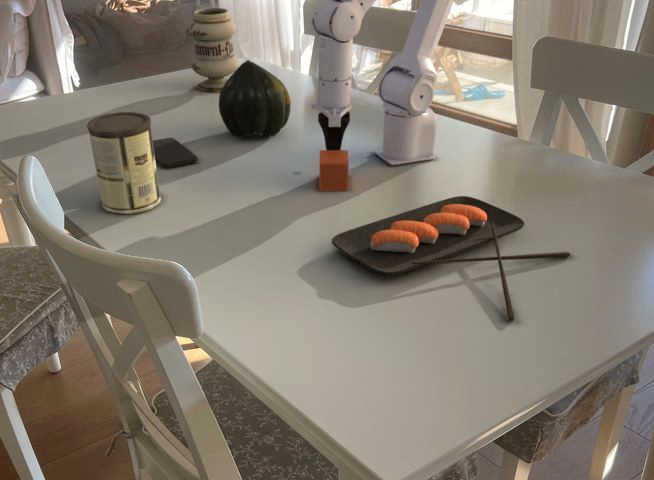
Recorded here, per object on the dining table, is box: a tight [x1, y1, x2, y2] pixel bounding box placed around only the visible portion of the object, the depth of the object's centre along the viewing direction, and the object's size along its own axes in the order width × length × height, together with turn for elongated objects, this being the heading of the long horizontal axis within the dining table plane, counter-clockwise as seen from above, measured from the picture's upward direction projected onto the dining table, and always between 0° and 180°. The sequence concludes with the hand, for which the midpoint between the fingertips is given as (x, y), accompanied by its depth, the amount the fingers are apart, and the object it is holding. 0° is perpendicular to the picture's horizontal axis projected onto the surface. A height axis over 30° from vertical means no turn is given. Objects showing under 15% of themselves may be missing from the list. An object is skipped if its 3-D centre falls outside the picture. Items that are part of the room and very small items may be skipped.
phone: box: [153, 137, 198, 168], centre depth 142 cm, size 7×1×15 cm
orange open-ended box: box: [318, 149, 349, 192], centre depth 127 cm, size 6×5×5 cm
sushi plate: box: [331, 195, 571, 322], centre depth 102 cm, size 29×30×4 cm
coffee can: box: [86, 111, 162, 215], centre depth 120 cm, size 10×10×14 cm
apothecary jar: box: [188, 7, 240, 93], centre depth 178 cm, size 12×12×18 cm
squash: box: [218, 59, 292, 138], centre depth 149 cm, size 14×15×15 cm
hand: (333, 154), depth 130 cm, fingers closed
